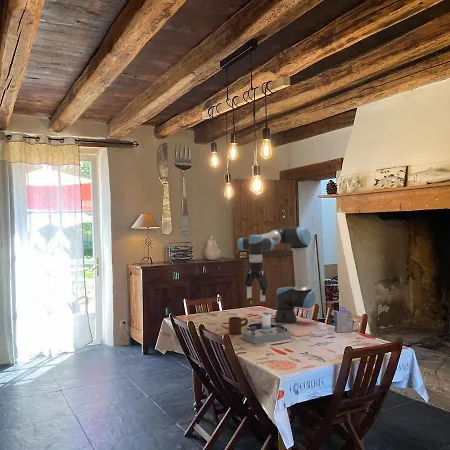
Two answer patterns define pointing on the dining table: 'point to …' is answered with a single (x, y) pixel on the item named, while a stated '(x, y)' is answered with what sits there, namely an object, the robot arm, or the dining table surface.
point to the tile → (300, 333)
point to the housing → (266, 336)
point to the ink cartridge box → (343, 320)
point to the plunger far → (279, 326)
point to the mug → (236, 325)
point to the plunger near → (252, 329)
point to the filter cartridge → (266, 323)
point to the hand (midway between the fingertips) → (255, 299)
